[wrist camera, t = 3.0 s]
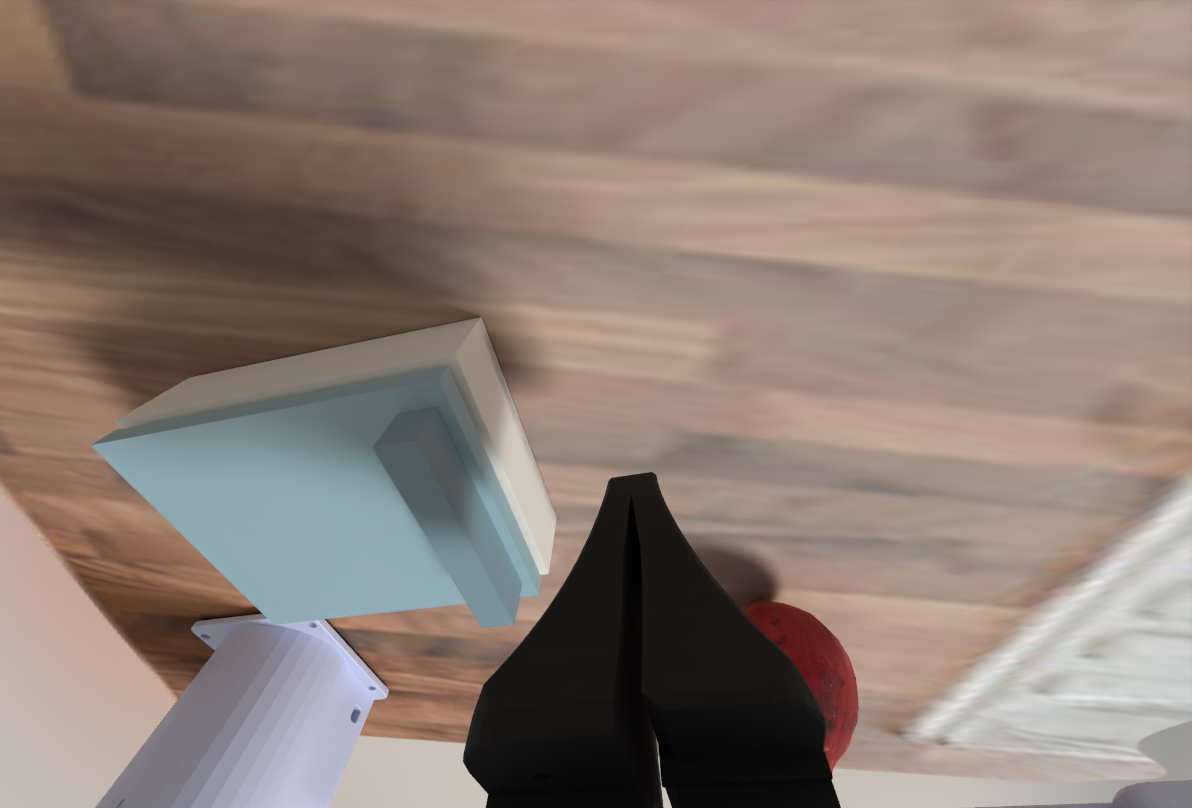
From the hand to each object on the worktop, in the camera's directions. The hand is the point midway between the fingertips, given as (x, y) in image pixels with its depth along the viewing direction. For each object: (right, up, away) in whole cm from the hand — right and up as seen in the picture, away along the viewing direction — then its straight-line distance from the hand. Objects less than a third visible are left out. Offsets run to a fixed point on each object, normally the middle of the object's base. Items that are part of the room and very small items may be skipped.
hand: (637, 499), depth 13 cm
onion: (+7, -7, +10) cm, 15 cm away
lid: (-10, -1, +3) cm, 10 cm away
